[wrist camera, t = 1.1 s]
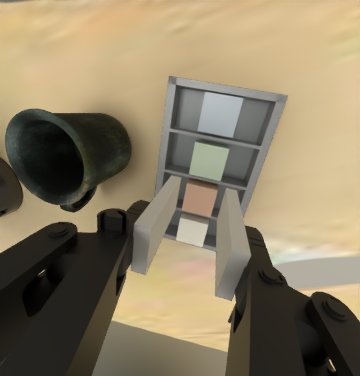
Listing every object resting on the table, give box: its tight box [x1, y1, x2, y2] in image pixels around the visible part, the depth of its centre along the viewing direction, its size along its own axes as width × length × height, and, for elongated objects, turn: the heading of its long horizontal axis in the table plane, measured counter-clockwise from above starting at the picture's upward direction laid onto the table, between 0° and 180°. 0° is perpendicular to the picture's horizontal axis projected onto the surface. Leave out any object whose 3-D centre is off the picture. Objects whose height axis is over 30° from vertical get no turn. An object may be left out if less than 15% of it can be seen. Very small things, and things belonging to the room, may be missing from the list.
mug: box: [5, 109, 131, 213], centre depth 27 cm, size 11×15×12 cm
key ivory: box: [176, 212, 209, 247], centre depth 30 cm, size 4×4×2 cm
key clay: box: [182, 178, 218, 217], centre depth 27 cm, size 4×4×2 cm
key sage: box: [189, 140, 229, 181], centre depth 25 cm, size 4×4×2 cm
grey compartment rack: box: [154, 76, 288, 251], centre depth 28 cm, size 14×24×4 cm, turn 170°
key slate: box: [197, 92, 244, 138], centre depth 23 cm, size 4×4×2 cm
